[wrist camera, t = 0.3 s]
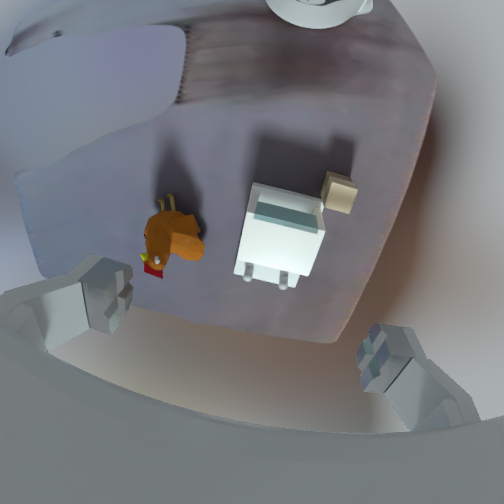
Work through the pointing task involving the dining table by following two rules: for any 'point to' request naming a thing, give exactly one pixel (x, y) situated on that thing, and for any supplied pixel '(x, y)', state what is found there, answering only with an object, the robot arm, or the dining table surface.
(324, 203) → the block
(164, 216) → the toy
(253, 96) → the dining table surface
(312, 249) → the cover
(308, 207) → the white peg base plate
